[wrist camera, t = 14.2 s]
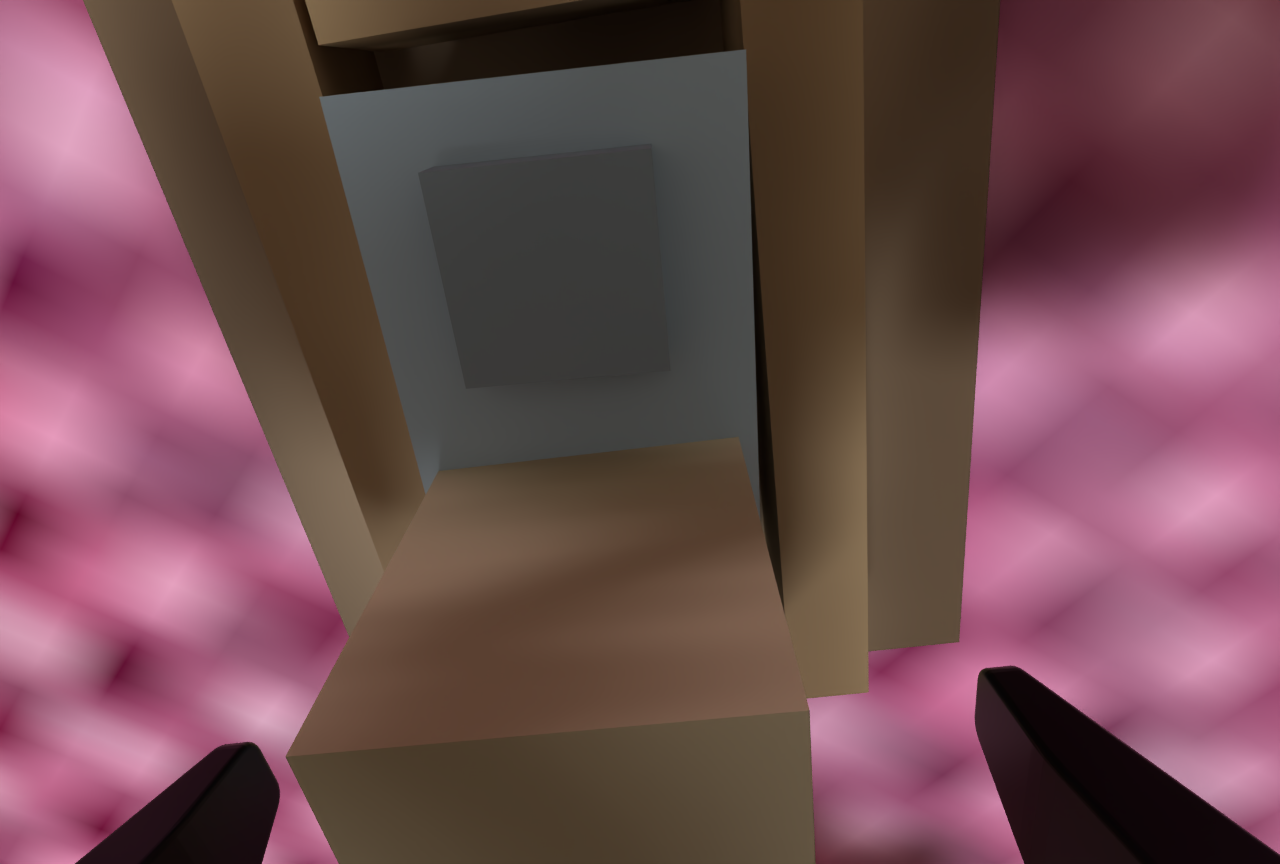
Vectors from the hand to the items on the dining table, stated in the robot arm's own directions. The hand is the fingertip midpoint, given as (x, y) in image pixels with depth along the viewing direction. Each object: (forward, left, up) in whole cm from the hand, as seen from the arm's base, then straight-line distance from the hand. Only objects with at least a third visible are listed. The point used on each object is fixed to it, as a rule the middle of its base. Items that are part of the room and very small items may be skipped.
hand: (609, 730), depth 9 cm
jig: (0, -2, -7) cm, 8 cm away
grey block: (0, -2, -6) cm, 7 cm away
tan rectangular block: (0, 0, -2) cm, 2 cm away
